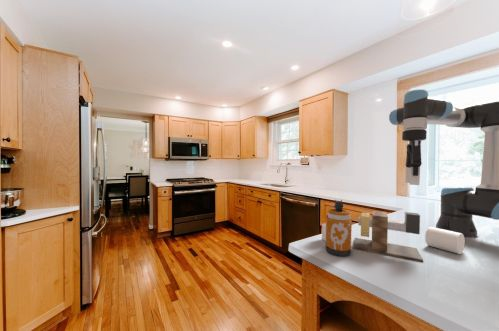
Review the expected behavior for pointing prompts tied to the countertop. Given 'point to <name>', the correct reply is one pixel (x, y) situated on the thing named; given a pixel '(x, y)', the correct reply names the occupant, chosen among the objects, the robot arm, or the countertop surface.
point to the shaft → (403, 223)
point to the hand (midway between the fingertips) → (411, 183)
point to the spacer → (365, 224)
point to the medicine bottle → (324, 231)
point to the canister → (338, 230)
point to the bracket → (384, 240)
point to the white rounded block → (445, 240)
